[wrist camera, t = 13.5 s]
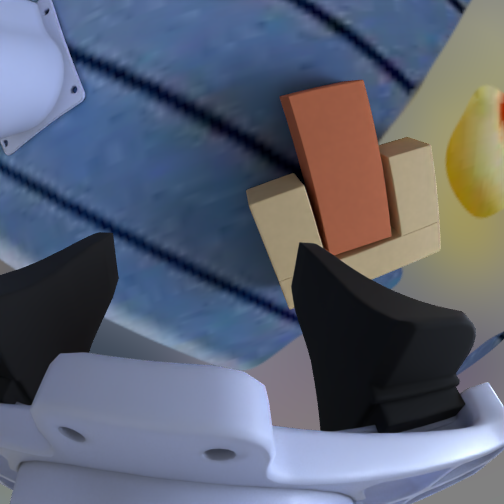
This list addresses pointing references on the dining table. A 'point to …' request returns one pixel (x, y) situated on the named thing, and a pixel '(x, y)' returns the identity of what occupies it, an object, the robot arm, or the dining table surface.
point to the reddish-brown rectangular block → (340, 163)
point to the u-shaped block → (368, 256)
